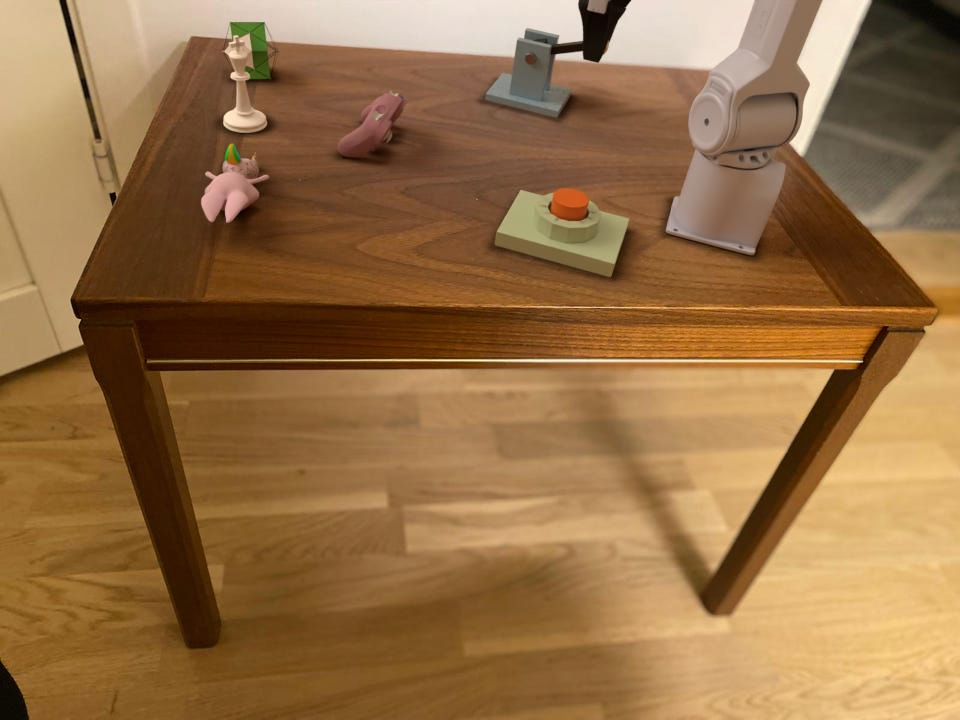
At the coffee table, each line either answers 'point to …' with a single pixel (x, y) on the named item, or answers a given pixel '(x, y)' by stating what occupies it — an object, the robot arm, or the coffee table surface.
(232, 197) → the pink plush unicorn
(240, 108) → the chess piece
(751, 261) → the coffee table surface
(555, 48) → the switch lever
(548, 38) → the switch bracket
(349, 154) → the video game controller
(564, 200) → the button
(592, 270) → the button block
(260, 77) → the geometric puzzle
